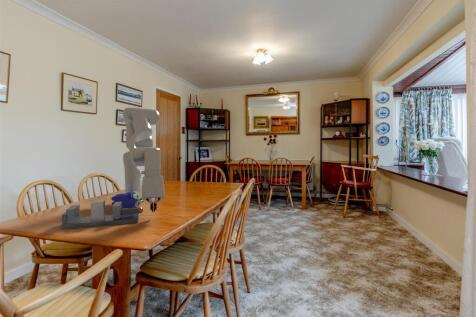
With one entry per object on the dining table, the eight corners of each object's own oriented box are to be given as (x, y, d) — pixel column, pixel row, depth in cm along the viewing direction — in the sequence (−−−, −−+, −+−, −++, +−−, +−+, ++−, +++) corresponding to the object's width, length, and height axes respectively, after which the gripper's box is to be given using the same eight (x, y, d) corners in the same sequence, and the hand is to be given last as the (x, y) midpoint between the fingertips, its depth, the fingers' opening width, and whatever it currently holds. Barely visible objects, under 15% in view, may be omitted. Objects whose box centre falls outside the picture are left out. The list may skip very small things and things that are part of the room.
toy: (145, 204, 156) (143, 209, 142) (115, 211, 152) (110, 216, 137) (142, 187, 156) (140, 190, 141) (111, 193, 151) (106, 197, 137)
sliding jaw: (115, 214, 127) (115, 202, 127) (143, 212, 131) (143, 200, 131) (112, 219, 118) (112, 206, 118) (142, 217, 122) (142, 204, 122)
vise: (69, 222, 122) (68, 205, 121) (138, 217, 131) (138, 201, 130) (62, 229, 112) (61, 210, 112) (137, 222, 121) (137, 205, 121)
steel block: (93, 217, 122) (93, 200, 122) (105, 216, 124) (105, 199, 124) (91, 220, 118) (90, 202, 117) (103, 219, 119) (103, 201, 119)
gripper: (135, 174, 121) (136, 214, 122) (169, 173, 126) (169, 212, 127) (136, 173, 128) (137, 210, 129) (168, 172, 133) (168, 208, 134)
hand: (153, 211), depth 128 cm, fingers closed
